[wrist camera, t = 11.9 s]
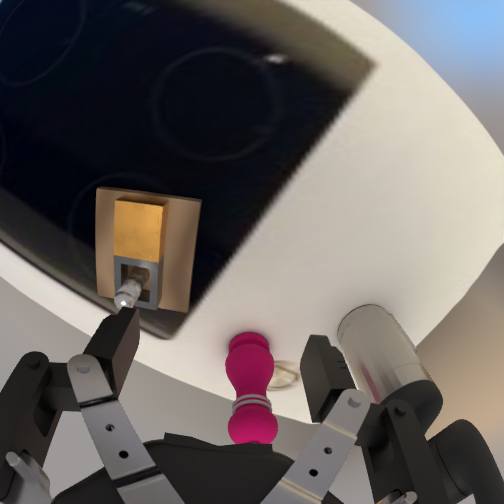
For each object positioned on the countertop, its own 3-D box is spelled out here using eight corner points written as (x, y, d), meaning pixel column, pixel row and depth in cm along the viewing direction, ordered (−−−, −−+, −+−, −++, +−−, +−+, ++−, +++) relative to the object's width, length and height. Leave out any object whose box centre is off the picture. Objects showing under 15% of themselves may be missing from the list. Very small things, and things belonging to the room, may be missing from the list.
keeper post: (149, 267, 39) (131, 298, 31) (149, 283, 39) (131, 316, 32) (132, 263, 38) (110, 294, 31) (132, 280, 39) (111, 312, 32)
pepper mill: (225, 362, 47) (221, 467, 29) (226, 328, 44) (221, 439, 26) (269, 363, 48) (281, 467, 29) (274, 329, 45) (291, 439, 26)
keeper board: (202, 199, 37) (200, 202, 36) (189, 307, 43) (187, 312, 41) (101, 186, 36) (96, 188, 34) (101, 290, 41) (98, 295, 40)
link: (168, 200, 35) (162, 206, 33) (161, 298, 40) (156, 310, 38) (124, 194, 35) (115, 200, 32) (122, 291, 40) (115, 302, 37)
